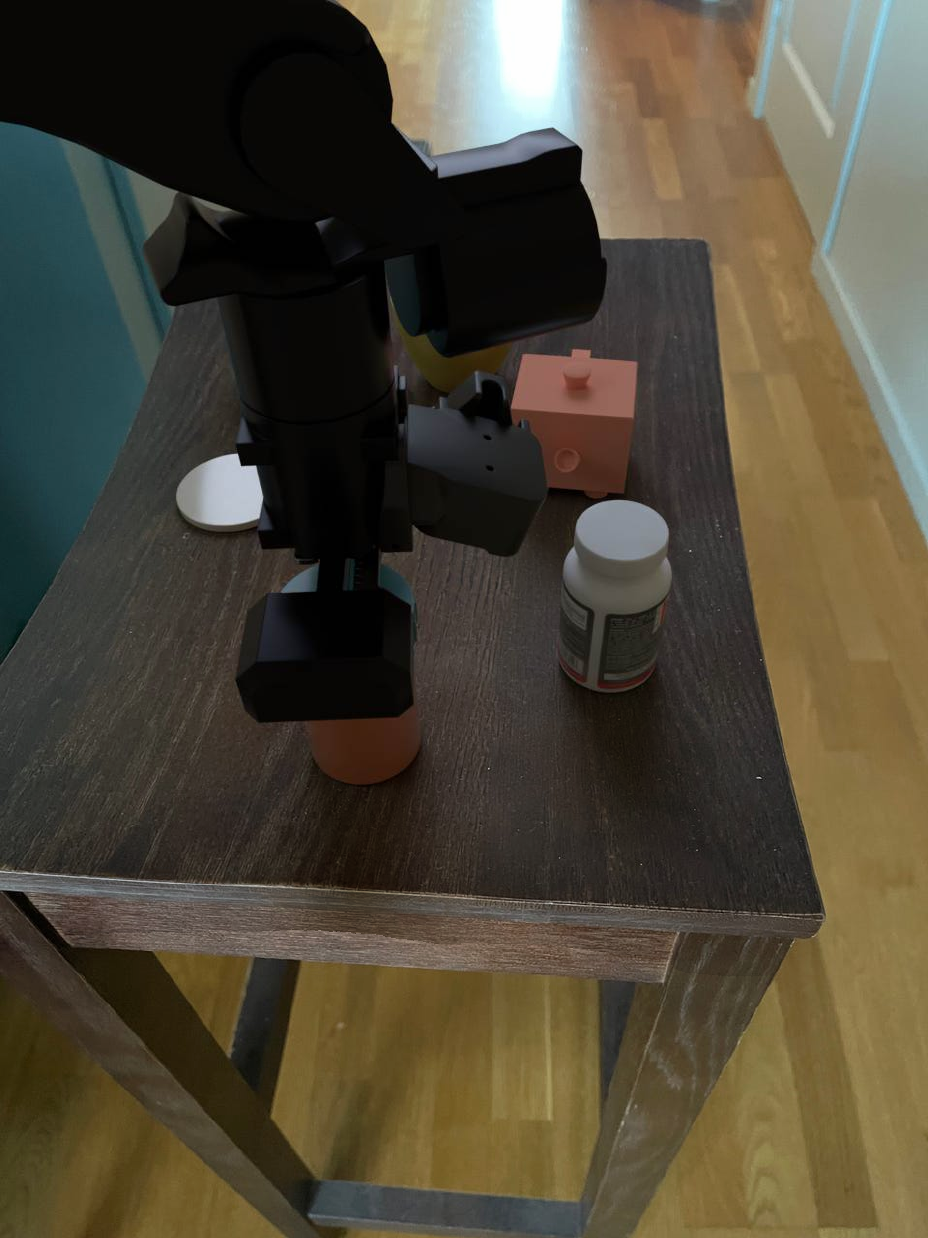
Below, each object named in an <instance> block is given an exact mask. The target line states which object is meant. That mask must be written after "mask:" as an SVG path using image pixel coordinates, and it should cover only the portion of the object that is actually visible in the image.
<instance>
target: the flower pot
mask: <svg viewBox="0 0 928 1238" xmlns="http://www.w3.org/2000/svg"><path fill="white" fill-rule="evenodd" d="M389 295H390V294H389ZM389 298H390V299H389V300H390V306H391V309H392V313H393V314H392V315H393V318H394V321H395V324H396V327H397V330H398V333H399V335H400V338H401V340H402V343H403V344H404V347H405V349H406V351H407V353H408V354H409V357H410V358H411V360H412V362H413V363H414V365H415V367H416V368H417V369H418V370H419V372H420V373H421V375H422V376H423V377H424V379H426V381H427V382H428V383H429V384H430V385H431V386H432V387H433V388H435V389H437V390H438V391H440V392H443V393H447V394H450V393H451V392H452V391H453V390H454V389H455V388H457V387H458V386H459V385H460V384H461V383H462V382H464V381H465V380H466V379H467V378H468V377H469V376H470V375H472V374H473V373H474V372H475V371H478V370H479V371H483V372H486V373H490V374H493V375H496V374H497V372H498V371H499V369H500V368H501V367H502V365H503V363H504V362H505V360H506V358H507V356H508V354H509V353H510V350H511V348H512V346H513V343H514V342H512V343H508V344H504V345H500V346H496V347H492V348H488V349H484V350H480V351H476V352H472V353H468V354H464V355H460V356H456V357H452V358H446V357H443V356H442V355H440V354H439V353H438V352H437V351H436V350H435V349H434V347H433V346H432V344H431V343H430V341H429V339H428V337H427V335H426V334H425V335H420V336H416V337H412V336H410V335H409V334H408V333H407V332H406V331H405V329H404V328H403V326H402V325H401V323H400V321H399V318H398V316H397V314H396V311H395V308H394V305H393V303H392V299H391V295H390V297H389Z"/></svg>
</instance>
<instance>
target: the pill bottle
mask: <svg viewBox="0 0 928 1238" xmlns="http://www.w3.org/2000/svg"><path fill="white" fill-rule="evenodd" d="M669 539H670V530H669V526H668V523H667V522H666V520H665V519H664V518H663V517H662V515H661V514H660V513H658V512H657V511H655V510H654V509H653V508H651V507H649V506H647V505H645V504H643V503H640V502H636V501H632V500H625V499H613V500H606V501H605V500H604V501H601V502H598V503H596V504H593V505H591V506H590V507H588V508H586V509H585V510H584V511H583V512H582V513H581V514H580V516H579V518H577V521H576V525H575V531H574V537H573V547H571V549H570V550H569V552H568V554H567V555H566V557H565V560H564V563H563V569H562V580H561V593H560V594H561V595H560V607H559V623H558V637H557V656H558V657H557V658H558V660H559V663H560V665H561V668H562V669H563V671H564V672H565V674H566V675H567V677H569V678H570V679H571V680H572V681H574V682H575V683H577V684H579V685H580V686H581V687H584V688H586V689H589V690H592V691H595V692H600V693H621V692H626V691H630V690H632V689H635V688H636V687H638V686H640V685H641V684H644V682H645V681H646V680H648V679H649V678H650V676H651V675H652V673H653V671H654V670H655V668H656V665H657V661H658V659H659V658H658V657H659V651H660V647H661V640H662V634H663V629H664V625H665V620H666V614H667V610H668V603H669V598H670V593H671V588H672V580H673V572H672V566H671V564H670V560H669V559H668V557H667V554H668V547H669Z"/></svg>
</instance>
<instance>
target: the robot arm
mask: <svg viewBox="0 0 928 1238" xmlns="http://www.w3.org/2000/svg"><path fill="white" fill-rule="evenodd" d="M393 106H394V96H393V92H392V86H391V81H390V75H389V71H388V65H387V62H386V61H385V59H384V57H383V55H382V53H381V51H380V49H379V48H378V45H377V43H376V41H375V40H374V37H373V36H372V34H371V32H370V30H369V29H368V27H367V26H366V24H364V23H363V22H362V21H361V20H360V19H359V18H358V17H357V16H356V15H354V14H353V13H352V11H350V10H349V9H347V8H346V6H344V5H342V4H341V3H340V2H339V1H338V0H0V123H4V124H5V123H6V124H10V125H15V126H22V127H26V128H30V129H34V130H35V131H39V132H42V133H45V134H47V135H50V136H53V137H56V138H58V139H62V140H65V141H68V142H71V143H72V144H73V143H74V144H76V145H78V146H81V147H83V148H85V149H87V150H89V151H91V152H93V153H95V154H97V155H99V156H101V157H103V158H105V159H107V160H110V161H111V162H113V163H116V164H117V165H120V166H121V167H123V168H124V169H125V168H126V169H128V170H130V171H132V172H134V173H136V174H137V175H139V176H142V177H143V178H145V179H148V180H150V181H151V182H153V183H156V184H158V185H160V186H162V187H165V188H166V189H167V188H168V189H170V190H174V191H175V192H176V193H175V194H174V197H173V200H172V201H173V202H172V205H171V207H170V210H169V212H168V214H167V216H166V218H165V219H164V220H163V221H162V222H161V223H160V224H159V225H158V226H157V227H156V229H155V230H154V231H153V232H152V234H151V235H150V236H149V237H148V238H147V239H146V241H145V242H144V243H143V244H142V249H141V253H142V256H143V259H144V261H145V264H146V266H147V268H148V271H149V273H150V276H151V279H152V281H153V283H154V285H155V288H156V290H157V293H158V295H159V298H160V299H161V301H162V302H163V303H164V304H165V305H167V306H169V307H181V306H186V305H190V304H194V303H199V302H203V301H209V300H213V299H216V301H217V305H218V310H219V313H220V314H219V315H220V318H221V323H222V326H223V327H222V328H223V331H224V336H225V339H226V344H227V348H228V353H229V356H230V361H231V365H232V369H233V374H234V378H235V382H236V386H237V391H238V396H239V400H240V404H241V409H242V413H241V417H240V423H239V425H238V430H237V434H236V439H235V442H234V445H235V449H236V452H237V453H236V454H238V457H239V461H240V465H241V466H256V469H257V473H258V477H259V481H260V486H261V490H262V494H263V501H262V507H261V512H260V517H259V523H258V526H257V528H256V532H257V536H258V540H259V544H260V548H261V550H262V551H263V550H285V549H286V550H287V549H289V550H290V549H293V554H292V557H293V561H294V564H295V565H299V566H310V565H312V566H313V565H315V564H316V565H317V564H318V565H319V570H318V579H317V588H316V591H315V592H289V593H280V592H268V593H265V595H263V597H261V598H260V599H259V600H258V601H257V602H256V603H254V605H252V607H250V608H249V609H248V610H246V611H247V612H246V618H245V622H244V628H243V632H242V633H243V634H242V639H241V645H240V650H239V655H238V662H237V667H236V672H235V677H234V680H235V681H234V682H235V685H236V687H237V690H238V693H239V696H240V700H241V702H242V705H243V708H244V711H245V713H246V714H248V715H249V716H250V717H251V718H252V719H254V721H255V722H257V723H258V724H267V723H269V724H270V723H271V724H272V723H292V722H293V723H294V722H295V723H296V722H304V721H323V720H349V719H375V718H398V717H400V716H401V715H402V714H403V713H404V712H406V711H407V710H408V709H409V708H410V707H412V706H413V705H414V661H415V644H414V637H413V614H412V608H411V605H410V604H409V603H407V602H406V601H404V600H402V599H401V598H399V597H397V596H396V595H394V594H393V593H392V592H391V591H390V590H388V589H386V588H383V587H380V586H379V576H380V563H381V562H382V555H383V554H396V553H413V552H414V531H413V526H414V528H416V530H418V531H419V532H420V533H422V534H424V535H425V536H428V537H430V538H435V539H439V540H444V541H447V542H452V543H456V544H461V545H465V546H469V547H473V548H478V549H481V550H485V551H486V552H487V553H488V554H489V555H491V556H496V557H500V558H510V557H513V556H515V555H517V554H518V553H519V552H520V550H521V547H522V546H523V545H524V542H525V539H526V537H527V536H528V534H529V532H530V530H531V528H532V526H533V524H534V523H535V520H536V518H537V516H538V515H539V513H540V510H541V508H542V507H543V506H544V503H545V501H546V499H547V497H548V493H549V489H548V488H547V481H546V474H545V467H544V460H543V454H542V447H541V444H540V442H539V440H538V439H537V438H536V437H535V436H534V435H533V434H532V433H531V430H530V422H529V421H528V420H524V419H521V420H520V422H519V424H518V426H515V425H514V423H513V420H512V414H511V399H510V391H509V390H510V389H509V385H508V384H509V383H508V379H507V378H505V377H503V376H500V375H496V374H495V375H493V374H490V373H486V372H483V371H479V370H478V371H475V372H474V373H473V374H472V375H470V376H469V377H468V378H467V379H466V380H465V381H464V382H462V383H461V384H460V385H459V386H458V387H457V388H455V389H454V390H453V391H452V392H451V393H448V395H447V396H446V397H443V396H439V397H438V400H437V401H436V405H435V406H431V407H429V406H423V405H418V404H416V403H415V393H414V391H412V390H411V389H409V387H408V378H407V375H403V374H401V375H400V372H399V371H400V370H399V364H394V354H393V344H392V334H391V331H392V330H391V319H390V310H389V298H388V292H389V295H391V299H392V303H393V305H394V308H395V311H396V314H397V316H398V318H399V321H400V323H401V325H402V326H403V328H404V329H405V331H406V332H407V333H408V334H409V335H410V336H412V337H416V336H420V335H425V334H426V335H427V337H428V339H429V341H430V343H431V344H432V346H433V347H434V349H435V350H436V351H437V352H438V353H439V354H440V355H442V356H443V357H446V358H452V357H456V356H460V355H464V354H468V353H472V352H476V351H480V350H484V349H488V348H492V347H496V346H500V345H504V344H508V343H512V342H513V343H516V342H519V341H520V342H521V341H523V340H528V339H532V338H537V337H541V336H545V335H548V334H552V333H555V332H561V331H564V330H565V331H566V330H568V329H572V328H576V327H580V326H584V325H586V324H588V323H589V322H592V321H593V319H595V317H596V315H597V314H598V313H599V311H600V308H601V305H602V303H603V300H604V296H605V290H606V285H607V280H608V279H607V277H608V262H607V259H606V258H607V257H605V256H604V255H603V254H602V242H601V236H600V231H599V226H598V221H597V218H596V214H595V210H594V208H593V204H592V201H591V199H590V197H589V195H588V192H587V189H586V187H585V186H584V184H583V182H582V180H581V179H582V168H583V167H582V165H583V148H581V146H580V145H578V143H576V142H574V141H573V140H571V139H570V138H568V137H567V136H566V135H565V134H564V133H562V132H560V131H559V130H558V129H556V128H554V127H553V126H552V127H546V128H541V129H535V130H530V131H525V132H523V133H520V134H518V135H516V136H514V137H512V138H510V139H507V140H506V141H502V142H498V143H494V144H490V145H484V146H483V145H482V146H479V147H478V146H477V147H473V148H467V149H461V150H456V151H452V152H446V153H441V154H436V155H429V156H428V154H427V153H425V151H423V150H422V149H421V148H420V147H419V146H418V145H417V144H416V143H414V142H413V140H411V139H410V137H408V136H407V135H406V134H405V133H404V132H403V131H402V130H401V129H400V128H399V127H398V126H397V125H395V124H394V122H393V121H392V119H393V109H394V107H393ZM196 198H197V199H199V200H203V201H205V202H208V203H211V204H214V205H217V206H220V207H223V208H226V209H229V210H225V211H223V210H217V209H214V208H211V207H209V206H206V205H205V204H204V203H201V202H200V201H199V200H197V199H196ZM351 559H356V560H354V563H355V566H354V573H353V576H354V580H353V587H352V590H349V583H350V570H351ZM381 564H382V563H381Z"/></svg>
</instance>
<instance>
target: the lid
mask: <svg viewBox="0 0 928 1238" xmlns="http://www.w3.org/2000/svg"><path fill="white" fill-rule="evenodd" d="M354 560H356V559H351V570H350V583H349V590H352V587H353V580H354V576H353V573H354V566H355V563H354ZM318 570H319V564H316V565H312V566H311V567H309V568H307V569H305V570H303V571H301V572H300V573H298V574H297V575H295V576H293V578H291V579H290V580H289V581H288V582H287V583H286V584H285V586H284V587H283V588H282V589H281V590H280V592H279V593H289V592H315V591H316V588H317V579H318ZM379 586H380V587H383V588H386V589H388V590H390V591H391V592H392V593H393V594H394V595H396V596H397V597H399V598H401V599H402V600H404V601H406V602H407V603H409V604H410V605H411V608H412V614H413V637H414V645H415V644H416V642H418V622H419V619H418V606H417V601H416V600H415V594H414V592H413V591H414V590H413V589H412V586H411V585H410V584H409V582H408V581H407V580H406V578H405V577H403V575H401V573H399V572H398V571H397V570H395V569H393V568H392V567H390V566H388V565H386V564H384V563H380V576H379Z"/></svg>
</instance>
